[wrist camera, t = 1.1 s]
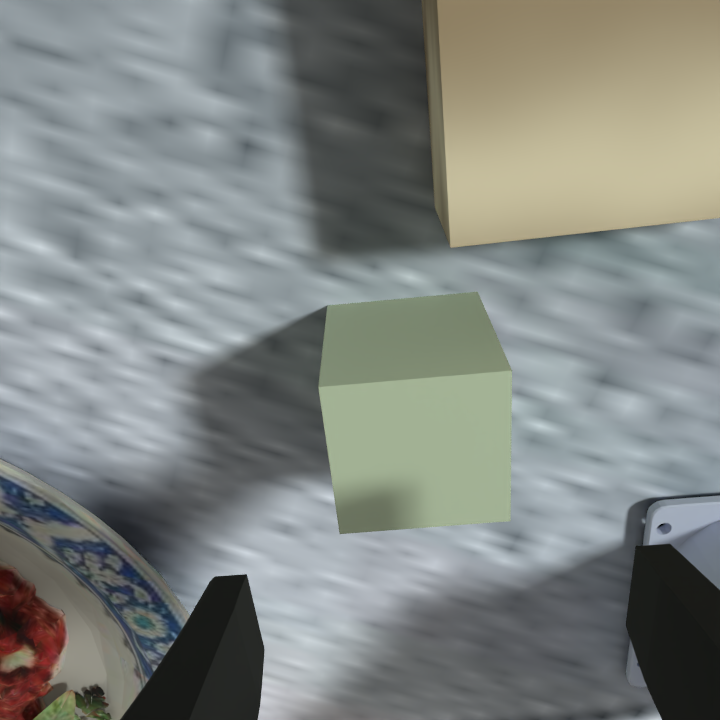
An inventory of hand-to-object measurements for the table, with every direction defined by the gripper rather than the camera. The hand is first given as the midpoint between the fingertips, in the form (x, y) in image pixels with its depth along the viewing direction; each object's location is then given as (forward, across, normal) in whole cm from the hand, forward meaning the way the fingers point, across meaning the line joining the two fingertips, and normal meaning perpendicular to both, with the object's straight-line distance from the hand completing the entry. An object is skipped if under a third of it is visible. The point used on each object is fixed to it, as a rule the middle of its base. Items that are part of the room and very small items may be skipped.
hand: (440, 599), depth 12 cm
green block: (+10, 0, 0) cm, 10 cm away
